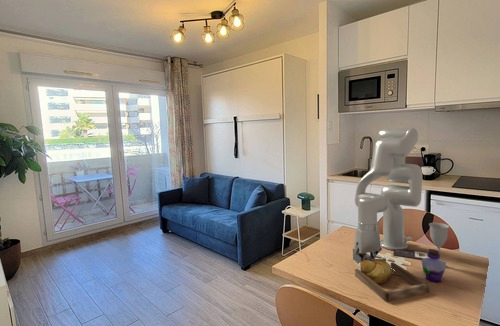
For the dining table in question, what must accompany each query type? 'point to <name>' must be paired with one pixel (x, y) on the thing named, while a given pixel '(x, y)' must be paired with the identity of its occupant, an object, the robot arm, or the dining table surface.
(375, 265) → the bread roll
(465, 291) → the dining table surface
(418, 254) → the chocolate bar
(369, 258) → the grey t-shaped block
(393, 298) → the walnut frame
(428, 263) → the potion bottle
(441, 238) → the chalice
